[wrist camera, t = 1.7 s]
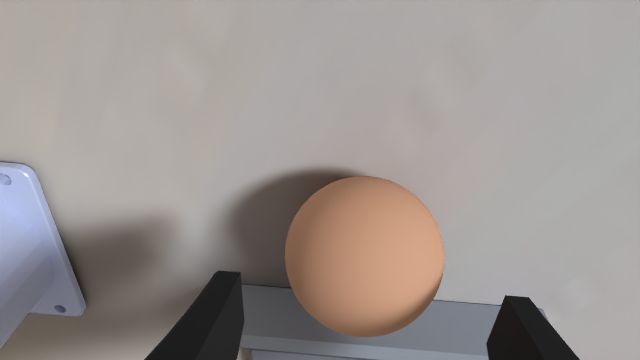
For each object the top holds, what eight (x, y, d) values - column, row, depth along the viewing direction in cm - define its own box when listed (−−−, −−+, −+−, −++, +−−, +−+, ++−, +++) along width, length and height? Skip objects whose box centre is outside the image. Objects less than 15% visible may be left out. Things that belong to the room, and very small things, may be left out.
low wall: (215, 294, 19) (197, 343, 17) (213, 282, 19) (195, 330, 17) (536, 321, 19) (559, 375, 17) (542, 309, 18) (566, 363, 16)
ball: (294, 252, 17) (274, 364, 13) (295, 142, 15) (270, 241, 10) (419, 262, 17) (439, 379, 13) (443, 153, 14) (479, 257, 10)
